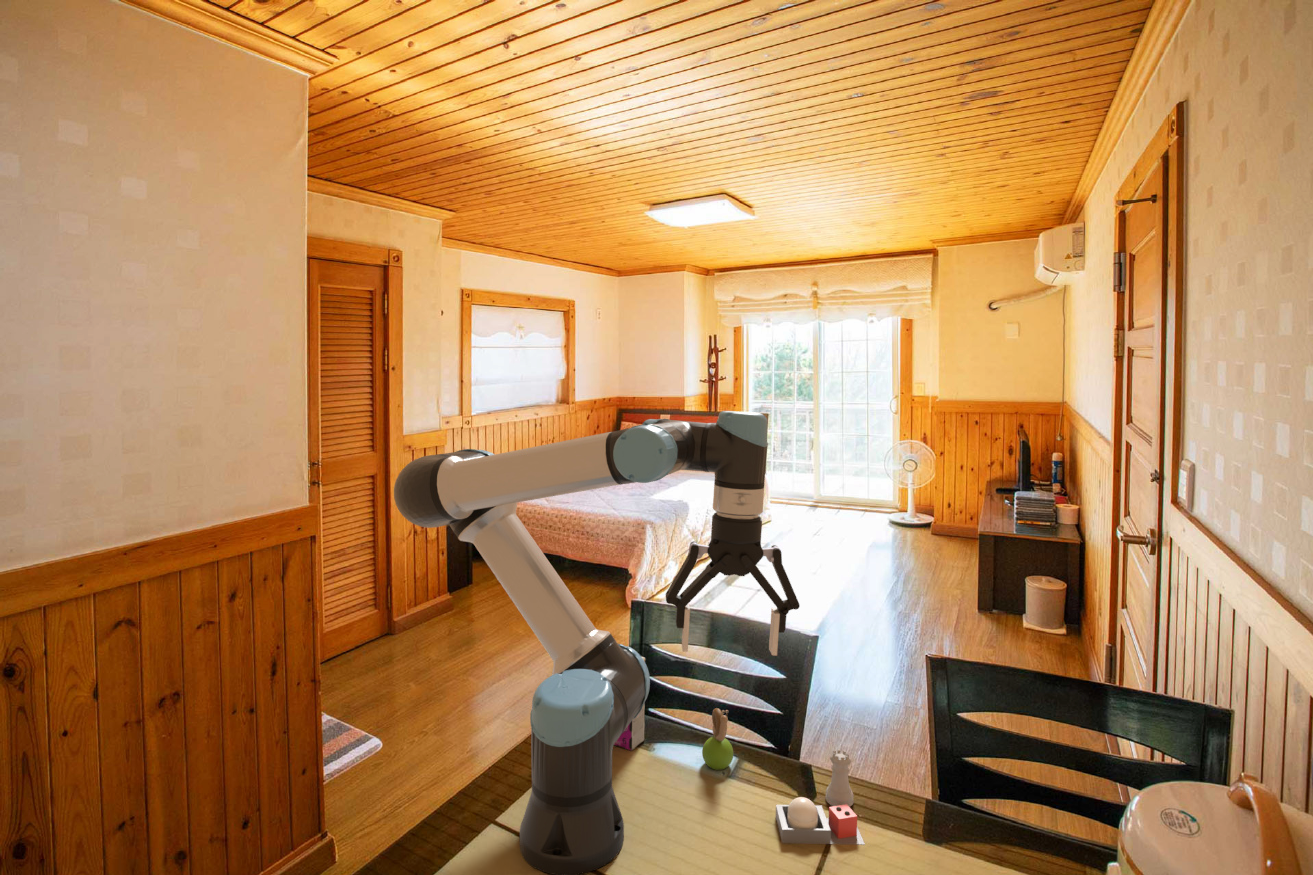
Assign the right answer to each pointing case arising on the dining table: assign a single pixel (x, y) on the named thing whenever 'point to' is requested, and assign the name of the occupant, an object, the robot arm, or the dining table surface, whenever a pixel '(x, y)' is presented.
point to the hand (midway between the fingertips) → (728, 650)
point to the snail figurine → (718, 743)
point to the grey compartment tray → (822, 827)
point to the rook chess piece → (839, 781)
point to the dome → (802, 814)
